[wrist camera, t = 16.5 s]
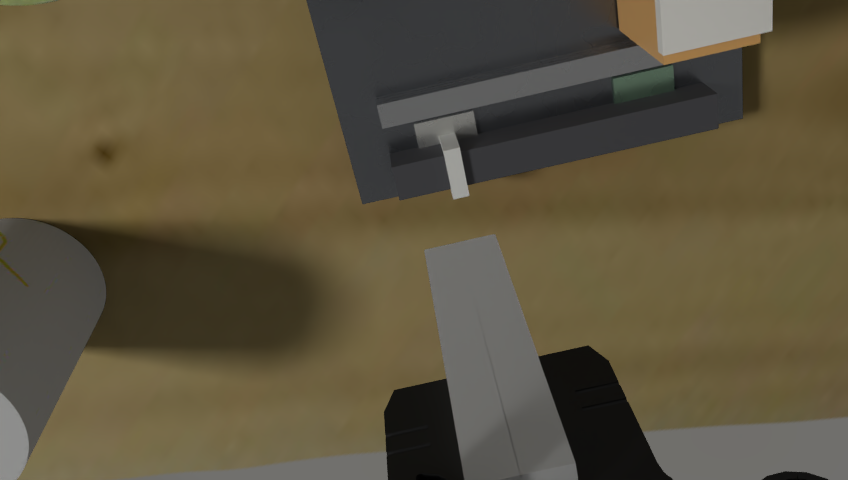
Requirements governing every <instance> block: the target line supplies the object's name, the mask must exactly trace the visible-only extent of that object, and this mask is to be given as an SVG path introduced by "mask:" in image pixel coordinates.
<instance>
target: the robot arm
mask: <svg viewBox="0 0 848 480" xmlns="http://www.w3.org/2000/svg"><path fill="white" fill-rule="evenodd" d="M424 251H425V257H426V263H427V268H428V274H429V280H430V286H431V291H432V297H433V303H434V309H435V314H436V320H437V326H438V331H439V337H440V343H441V349H442V354H443V360H444V366H445V372H446V377H447V379H443V380H438V381H434V382H429V383H424V384H420V385H415V386H411V387H406V388H402V389H397V390H394V392H393V394H392V396H391V398H390V400H389V403H388V405H387V407H386V409H385V411H384V419H385V434H386V452H387V470H388V480H672V478H671V477H669V476H668V475H666V474H665V473H664V472H663V470H662V469H661V467H660V466H659V465H658V463H657V461H656V459H655V457H654V455H653V453H652V451H651V449H650V446H649V444H648V442H647V441H646V438H645V436H644V434H643V432H642V430H641V428H640V426H639V423H638V421H637V419H636V417H635V415H634V413H633V411H632V409H631V407H630V405H629V403H628V402H627V400H626V396H625V394H624V392H623V390H622V388H621V386H620V385H619V383H618V380H617V378H616V375H615V373H614V371H613V369H612V367H611V365H610V363H609V361H608V360H607V359H605V358H604V357H603V356H602V355H600V354H599V353H598V352H596V351H595V350H594V349H592V348H591V347H590V346H584V347H579V348H575V349H570V350H566V351H561V352H557V353H552V354H548V355H543V356H538V355H537V352H536V349H535V346H534V343H533V340H532V338H531V335H530V332H529V329H528V326H527V323H526V321H525V318H524V315H523V312H522V309H521V306H520V303H519V301H518V298H517V295H516V292H515V289H514V286H513V284H512V281H511V278H510V275H509V272H508V269H507V267H506V264H505V261H504V258H503V255H502V252H501V250H500V247H499V244H498V241H497V238H496V235H495V234H493V235H489V236H484V237H480V238H475V239H471V240H466V241H462V242H457V243H453V244H448V245H444V246H440V247H435V248H431V249H426V250H424ZM763 480H828V479H825V478H822V477H819V476H816V475H813V474H810V473H807V472H781V473H778V474H773V475H769V476H767V477H765V478H764V479H763Z"/></svg>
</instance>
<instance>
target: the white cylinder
mask: <svg viewBox="0 0 848 480" xmlns="http://www.w3.org/2000/svg"><path fill="white" fill-rule="evenodd" d="M105 301H106V285H105V280H104V276H103V273H102V271H101V269H100V267H99V265H98V263H97V261H96V260H95V258H94V257H93V256H92V254H91V253H90V252H89V251H88V250H87V249H86V248H85V247H84V246H83V245H82V244H81V243H80V242H79V241H78V240H76V239H75V238H74V237H72V236H71V235H69V234H67V233H66V232H64V231H62V230H60V229H58V228H56V227H54V226H51V225H49V224H46V223H43V222H39V221H35V220H30V219H21V218H6V219H0V480H16V479H17V478H18V477H19V476H20V474H21V473H22V471H23V469H24V467H25V465H26V463H27V461H28V459H29V457H30V455H31V453H32V451H33V449H34V447H35V445H36V443H37V441H38V439H39V437H40V435H41V433H42V431H43V429H44V427H45V425H46V423H47V421H48V419H49V417H50V415H51V413H52V411H53V409H54V407H55V405H56V403H57V401H58V399H59V397H60V395H61V393H62V391H63V389H64V387H65V385H66V383H67V381H68V379H69V377H70V375H71V373H72V371H73V369H74V368H75V366H76V364H77V362H78V360H79V358H80V356H81V354H82V352H83V350H84V348H85V346H86V344H87V342H88V340H89V338H90V336H91V334H92V332H93V330H94V328H95V326H96V324H97V322H98V320H99V318H100V316H101V314H102V311H103V309H104V306H105Z"/></svg>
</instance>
